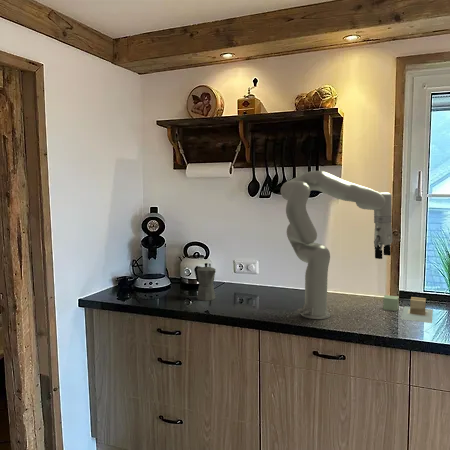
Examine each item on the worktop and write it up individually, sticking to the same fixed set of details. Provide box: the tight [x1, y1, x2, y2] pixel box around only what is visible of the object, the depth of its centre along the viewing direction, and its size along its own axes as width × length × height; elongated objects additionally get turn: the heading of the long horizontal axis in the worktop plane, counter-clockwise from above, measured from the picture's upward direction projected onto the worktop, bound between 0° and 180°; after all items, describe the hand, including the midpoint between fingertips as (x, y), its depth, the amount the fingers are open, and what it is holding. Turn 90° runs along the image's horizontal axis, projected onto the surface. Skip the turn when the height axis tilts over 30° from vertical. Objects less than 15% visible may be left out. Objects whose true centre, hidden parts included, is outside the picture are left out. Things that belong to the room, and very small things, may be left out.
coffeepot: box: [193, 262, 217, 302], centre depth 222 cm, size 15×9×18 cm, turn 44°
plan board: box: [400, 306, 434, 324], centre depth 194 cm, size 22×12×1 cm, turn 154°
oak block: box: [409, 296, 427, 315], centre depth 196 cm, size 6×6×6 cm
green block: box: [382, 294, 400, 312], centre depth 202 cm, size 6×6×6 cm
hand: (383, 256), depth 202 cm, fingers open, 9 cm apart
